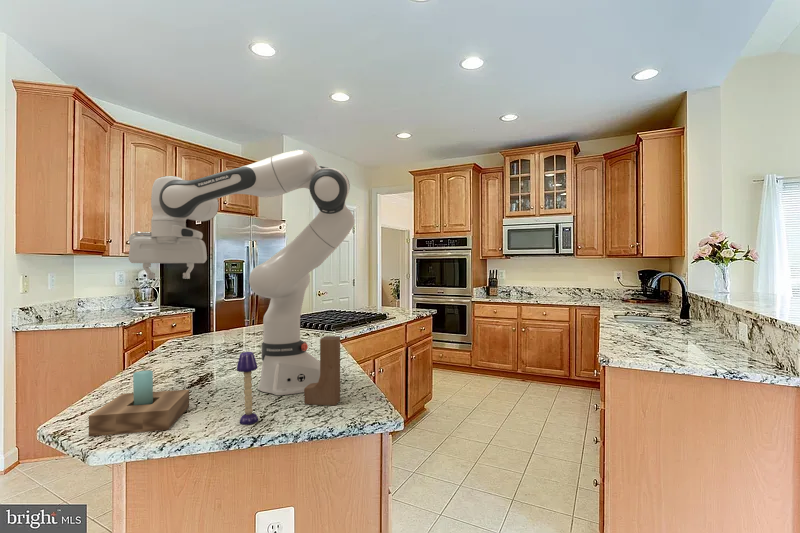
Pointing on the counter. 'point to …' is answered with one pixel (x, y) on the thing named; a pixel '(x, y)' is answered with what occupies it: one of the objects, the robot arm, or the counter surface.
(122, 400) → the bore block
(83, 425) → the counter surface
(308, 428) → the counter surface
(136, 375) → the pin
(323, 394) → the wooden block
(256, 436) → the counter surface
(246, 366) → the toy lamp
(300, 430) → the counter surface
